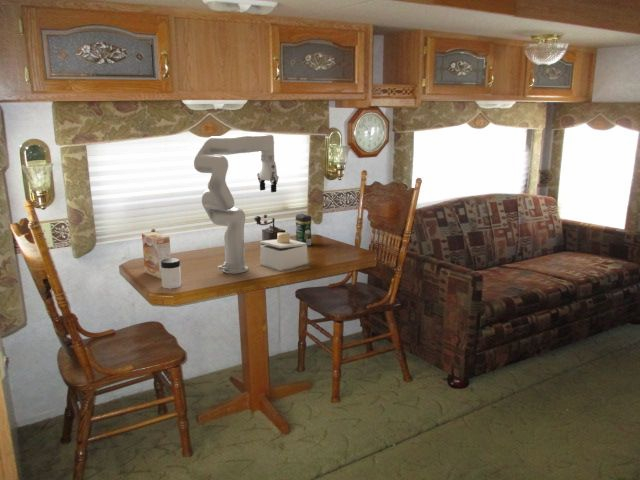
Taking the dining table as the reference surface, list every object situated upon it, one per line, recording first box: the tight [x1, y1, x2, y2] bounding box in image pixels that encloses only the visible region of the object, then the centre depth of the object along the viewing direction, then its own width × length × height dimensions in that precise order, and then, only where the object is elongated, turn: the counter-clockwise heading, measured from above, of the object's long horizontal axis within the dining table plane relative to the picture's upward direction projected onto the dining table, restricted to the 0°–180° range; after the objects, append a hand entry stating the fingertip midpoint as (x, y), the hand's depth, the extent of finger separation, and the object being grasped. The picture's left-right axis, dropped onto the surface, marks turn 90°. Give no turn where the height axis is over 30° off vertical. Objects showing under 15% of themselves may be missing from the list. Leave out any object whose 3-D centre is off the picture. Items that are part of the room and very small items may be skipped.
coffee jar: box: [295, 213, 312, 247], centre depth 317 cm, size 10×8×19 cm
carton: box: [259, 245, 308, 272], centre depth 276 cm, size 18×16×10 cm
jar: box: [161, 257, 182, 290], centre depth 242 cm, size 9×8×12 cm
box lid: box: [259, 238, 308, 248], centre depth 275 cm, size 19×16×1 cm
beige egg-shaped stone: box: [277, 232, 291, 243], centre depth 274 cm, size 6×6×4 cm
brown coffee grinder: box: [253, 215, 286, 246], centre depth 315 cm, size 16×11×18 cm
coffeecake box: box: [141, 231, 172, 279], centre depth 260 cm, size 15×7×20 cm, turn 45°
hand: (268, 191), depth 285 cm, fingers open, 9 cm apart
